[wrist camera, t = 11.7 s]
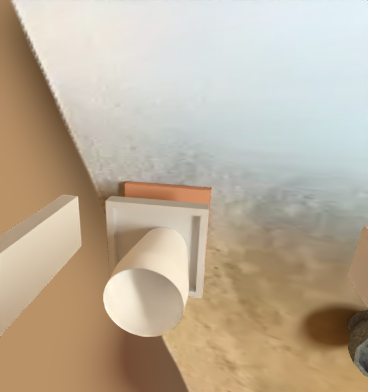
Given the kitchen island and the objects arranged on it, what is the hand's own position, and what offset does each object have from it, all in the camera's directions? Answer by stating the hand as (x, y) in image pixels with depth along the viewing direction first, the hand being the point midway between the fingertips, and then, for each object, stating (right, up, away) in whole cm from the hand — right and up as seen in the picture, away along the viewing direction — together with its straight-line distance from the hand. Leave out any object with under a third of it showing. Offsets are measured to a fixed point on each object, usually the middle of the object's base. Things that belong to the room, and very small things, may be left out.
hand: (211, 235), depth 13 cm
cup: (-4, -6, +28) cm, 29 cm away
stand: (-4, -3, +36) cm, 36 cm away
